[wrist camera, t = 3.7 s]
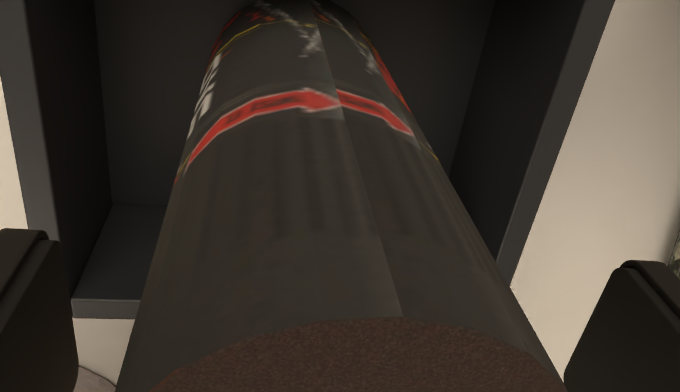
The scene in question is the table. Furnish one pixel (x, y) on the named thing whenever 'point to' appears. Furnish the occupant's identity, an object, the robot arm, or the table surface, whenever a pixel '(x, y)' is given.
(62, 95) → the bin
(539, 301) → the table surface
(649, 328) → the robot arm
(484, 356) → the deodorant
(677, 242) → the eiffel tower figurine
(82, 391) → the pillar candle
